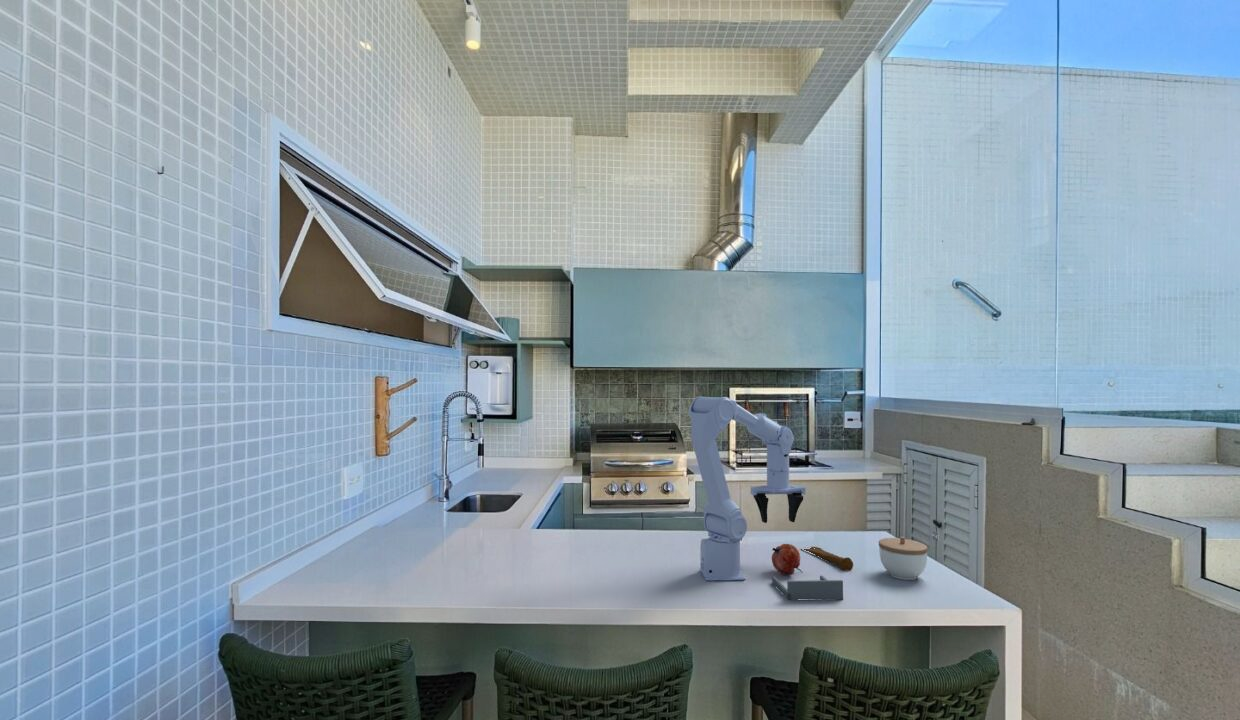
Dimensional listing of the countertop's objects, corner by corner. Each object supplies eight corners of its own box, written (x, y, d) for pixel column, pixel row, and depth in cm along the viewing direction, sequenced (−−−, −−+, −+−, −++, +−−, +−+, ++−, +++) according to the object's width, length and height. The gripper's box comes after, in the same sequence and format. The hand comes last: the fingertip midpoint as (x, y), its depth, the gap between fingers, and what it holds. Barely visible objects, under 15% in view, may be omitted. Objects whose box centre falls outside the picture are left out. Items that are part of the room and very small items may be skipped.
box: (788, 600, 119) (788, 581, 120) (772, 582, 130) (772, 565, 130) (843, 599, 120) (842, 580, 120) (822, 581, 131) (822, 564, 131)
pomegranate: (789, 576, 141) (759, 552, 141) (807, 554, 141) (777, 530, 140) (798, 590, 134) (766, 565, 133) (817, 567, 133) (785, 542, 133)
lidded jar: (870, 569, 140) (869, 531, 141) (909, 567, 141) (908, 530, 142) (896, 584, 130) (895, 544, 130) (938, 582, 131) (937, 542, 131)
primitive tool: (799, 550, 157) (799, 538, 157) (815, 549, 158) (815, 536, 158) (842, 573, 138) (842, 559, 138) (861, 571, 140) (861, 557, 140)
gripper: (757, 473, 142) (757, 526, 142) (810, 472, 144) (811, 524, 143) (747, 468, 149) (747, 519, 149) (798, 468, 151) (799, 518, 150)
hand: (778, 521), depth 146 cm, fingers open, 7 cm apart
